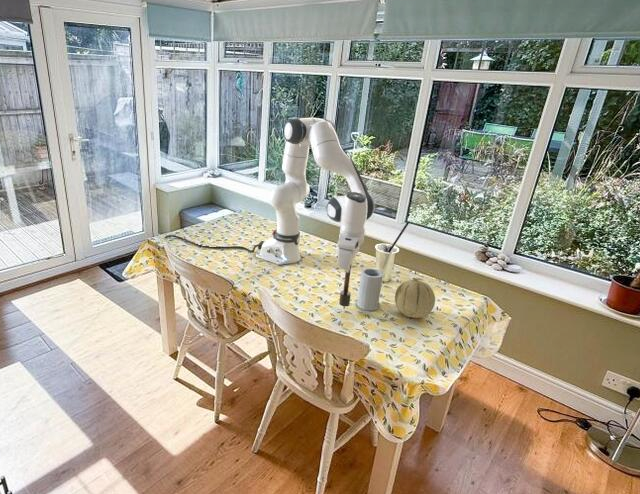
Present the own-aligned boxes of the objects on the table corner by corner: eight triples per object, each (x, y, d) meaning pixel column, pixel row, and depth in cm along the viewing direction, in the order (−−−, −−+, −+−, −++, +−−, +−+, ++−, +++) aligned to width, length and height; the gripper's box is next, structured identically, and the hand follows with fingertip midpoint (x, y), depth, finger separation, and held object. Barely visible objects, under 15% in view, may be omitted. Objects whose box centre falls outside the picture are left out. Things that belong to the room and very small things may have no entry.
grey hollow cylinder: (355, 307, 166) (359, 274, 160) (359, 298, 172) (363, 266, 167) (375, 312, 162) (380, 279, 156) (379, 302, 169) (384, 270, 163)
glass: (398, 286, 182) (409, 223, 170) (371, 283, 184) (381, 220, 172) (395, 274, 192) (405, 214, 180) (370, 272, 194) (378, 212, 182)
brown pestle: (338, 305, 162) (342, 259, 154) (340, 300, 165) (345, 255, 158) (348, 307, 160) (353, 261, 153) (350, 302, 164) (356, 257, 156)
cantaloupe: (410, 329, 152) (417, 294, 146) (384, 309, 165) (389, 276, 159) (440, 320, 158) (448, 286, 152) (412, 301, 170) (418, 269, 164)
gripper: (350, 226, 162) (346, 257, 167) (335, 244, 145) (332, 279, 150) (366, 228, 159) (362, 261, 164) (353, 248, 142) (349, 283, 147)
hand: (347, 269), depth 157 cm, fingers closed on brown pestle, 2 cm apart
